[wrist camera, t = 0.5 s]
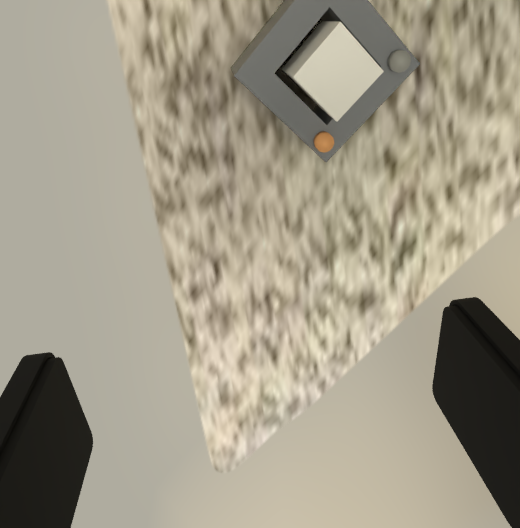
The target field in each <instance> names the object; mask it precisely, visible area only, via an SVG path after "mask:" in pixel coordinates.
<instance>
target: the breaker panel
mask: <svg viewBox="0 0 520 528" xmlns="http://www.w3.org/2000/svg"><path fill="white" fill-rule="evenodd" d="M320 18H321V19H322V20H323V21H336V22H341V23H342V24H343V25H344V26H345V27H346V29H347V30H348V31H349V32H350V33H351V34H352V35H353V37H354V38H355V39H356V40H357V41H358V42H359V43H360V45H361V46H362V47H363V48H364V49H365V50H366V51H367V53H368V54H369V55H370V56H371V57H372V58H373V59H374V61H375V62H376V63H377V64H378V65H379V66H380V67H381V69H382V70H383V71H384V72H383V73H382V74H381V75H380V76H379V77H378V78H377V79H376V80H375V81H374V83H373V84H372V85H371V86H370V87H369V88H368V89H367V90H366V91H365V92H364V93H363V94H362V96H361V97H360V98H359V99H358V100H357V101H356V102H355V103H354V104H353V105H352V106H351V107H350V108H349V110H348V111H347V112H346V113H345V114H344V115H343V116H342V117H341V118H340V119H339V120H338V121H337V122H336V121H335V120H334V119H333V118H332V117H330V116H329V115H328V114H327V113H326V112H324V111H323V110H322V109H321V108H320V107H319V106H318V105H316V107H315V108H314V109H313V110H311V109H310V108H309V107H308V106H307V105H306V104H305V103H304V102H303V101H302V100H301V99H300V98H299V97H298V96H297V95H296V94H295V93H294V92H293V91H292V90H291V89H290V88H289V87H288V86H287V85H286V84H285V83H284V82H283V81H282V80H281V79H280V78H279V77H278V76H277V75H276V74H275V72H276V71H277V70H278V68H279V67H280V66H281V65H282V64H283V62H284V61H285V60H286V59H287V58H288V56H289V55H290V54H291V53H292V52H293V50H294V49H295V48H296V47H297V46H298V44H299V43H300V42H301V41H302V40H303V38H304V37H305V36H306V35H307V34H308V32H309V31H310V30H311V29H312V28H313V26H314V25H315V24H316V23H317V22H318V20H319V19H320ZM419 64H420V63H419V62H418V61H417V59H416V58H415V57H414V56H413V55H412V53H411V52H410V51H409V50H408V48H407V47H406V46H405V45H404V44H403V42H402V41H401V40H400V39H399V38H398V36H397V35H396V34H395V33H394V31H393V30H392V29H391V28H390V27H389V25H388V24H387V23H386V22H385V20H384V19H383V18H382V17H381V16H380V14H379V13H378V12H377V11H376V10H375V8H374V7H373V6H372V5H371V3H370V2H369V1H368V0H284V2H283V3H282V4H281V5H280V7H279V8H278V9H277V10H276V12H275V13H274V14H273V15H272V17H271V18H270V19H269V21H268V22H267V23H266V24H265V26H264V27H263V28H262V29H261V31H260V32H259V33H258V34H257V36H256V37H255V38H254V39H253V41H252V42H251V43H250V44H249V46H248V47H247V48H246V49H245V51H244V52H243V53H242V54H241V56H240V57H239V58H238V60H237V61H236V62H235V63H234V65H233V66H232V67H231V69H232V72H233V74H234V76H235V77H236V78H237V79H238V80H239V81H240V82H241V83H242V84H243V85H244V86H245V87H246V88H247V89H248V90H250V91H251V92H252V93H253V94H254V95H255V96H256V97H257V98H258V99H259V100H260V101H261V102H262V103H263V104H264V105H265V106H267V107H268V108H269V109H270V110H271V111H272V112H273V113H274V114H275V115H276V116H277V117H278V118H279V119H280V120H281V121H282V122H284V123H285V124H286V125H287V126H288V127H289V128H290V129H291V130H292V131H293V132H294V133H295V134H296V135H297V136H298V137H299V138H300V139H302V140H303V141H304V142H305V143H306V144H307V145H308V146H309V147H310V148H311V149H312V150H313V151H314V152H315V153H316V154H317V155H319V156H320V157H321V158H322V159H323V160H324V161H325V162H327V161H328V160H329V159H330V158H331V157H332V156H333V155H334V154H335V153H336V152H337V151H338V149H339V148H340V147H341V146H342V145H343V144H344V143H345V142H346V141H347V140H348V139H349V138H350V137H351V136H352V135H353V134H354V133H355V132H356V131H357V130H358V128H359V127H360V126H361V125H362V124H363V123H364V122H365V121H366V120H367V119H368V118H369V117H370V116H371V115H372V114H373V113H374V112H375V111H376V110H377V109H378V107H379V106H380V105H381V104H382V103H383V102H384V101H385V100H386V99H387V98H388V97H389V96H390V95H391V94H392V93H393V92H394V91H395V90H396V89H397V88H398V86H399V85H400V84H401V83H402V82H403V81H404V80H405V79H406V78H407V77H408V76H409V75H410V74H411V73H412V72H413V71H414V70H415V69H416V68H417V67H418V65H419Z"/></svg>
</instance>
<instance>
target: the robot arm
mask: <svg viewBox="0 0 520 528" xmlns="http://www.w3.org/2000/svg"><path fill="white" fill-rule="evenodd" d="M433 395H434V398H435V400H436V402H437V404H438V405H439V407H440V409H441V410H442V412H443V414H444V415H445V417H446V419H447V421H448V422H449V424H450V426H451V427H452V429H453V431H454V432H455V434H456V436H457V437H458V439H459V441H460V442H461V444H462V445H463V447H464V449H465V451H466V452H467V454H468V456H469V457H470V459H471V461H472V463H473V464H474V466H475V468H476V469H477V471H478V473H479V474H480V476H481V478H482V479H483V481H484V483H485V484H486V486H487V488H488V489H489V491H490V493H491V494H492V496H493V498H494V500H495V501H496V503H497V504H498V506H499V508H500V510H501V511H502V513H503V515H504V516H505V518H506V520H507V521H508V523H509V524H510V526H511V527H512V528H520V340H519V339H518V338H517V337H516V336H515V335H514V334H513V333H512V332H511V331H510V330H509V329H508V328H507V327H506V326H505V325H504V324H503V323H502V322H501V320H500V319H499V318H498V317H497V316H496V315H495V314H494V313H493V312H492V311H491V310H490V309H489V308H488V307H487V306H486V305H485V304H484V303H483V302H482V301H481V300H480V299H479V298H476V297H473V298H465V299H458V300H453V301H451V303H450V305H449V307H445V308H444V311H443V316H442V323H441V330H440V337H439V345H438V352H437V358H436V365H435V373H434V379H433ZM92 445H93V437H92V433H91V430H90V428H89V425H88V423H87V420H86V418H85V415H84V413H83V410H82V408H81V405H80V402H79V400H78V398H77V395H76V392H75V390H74V387H73V385H72V382H71V380H70V377H69V375H68V372H67V370H66V367H65V365H64V362H63V360H62V359H61V358H59V357H58V358H55V356H54V355H53V354H52V353H42V354H33V355H26V356H24V357H23V358H22V359H21V361H20V363H19V365H18V366H17V368H16V370H15V372H14V374H13V375H12V377H11V379H10V381H9V383H8V384H7V386H6V388H5V390H4V391H3V393H2V395H1V397H0V528H71V524H72V520H73V517H74V513H75V509H76V506H77V502H78V499H79V495H80V491H81V488H82V484H83V480H84V477H85V473H86V470H87V466H88V462H89V458H90V455H91V451H92V447H93V446H92Z"/></svg>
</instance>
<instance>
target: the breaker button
mask: <svg viewBox="0 0 520 528" xmlns="http://www.w3.org/2000/svg"><path fill="white" fill-rule="evenodd" d="M282 70H283V71H284V72H285V73H286V74H287V75H288V76H289V77H290V78H291V79H292V80H293V81H294V82H295V83H296V84H297V85H298V86H299V87H300V88H301V89H302V90H303V91H304V92H305V93H306V94H307V95H308V96H309V97H310V98H311V99H312V100H313V101H314V102H315V103H316V104H317V105H318V106H319V107H320V108H321V109H322V110H323V111H324V112H326V113H327V114H328V115H329V116H330V117H332V118H333V119H334V120H335V121H336V122H337V121H338V120H339V119H340V118H341V117H342V116H343V115H344V114H345V113H346V112H347V111H348V110H349V108H350V107H351V106H352V105H353V104H354V103H355V102H356V101H357V100H358V99H359V98H360V97H361V96H362V94H363V93H364V92H365V91H366V90H367V89H368V88H369V87H370V86H371V85H372V84H373V83H374V81H375V80H376V79H377V78H378V77H379V76H380V75H381V74H382V73H383V72H384V71H383V70H382V69H381V67H380V66H379V65H378V64H377V63H376V62H375V61H374V59H373V58H372V57H371V56H370V55H369V54H368V53H367V51H366V50H365V49H364V48H363V47H362V46H361V45H360V43H359V42H358V41H357V40H356V39H355V38H354V37H353V35H352V34H351V33H350V32H349V31H348V30H347V29H346V27H345V26H344V25H343V24H342V23H341V22H336V21H322V22H321V23H320V24H319V25H318V26H317V28H316V29H315V30H314V31H313V32H312V33H311V35H310V36H309V37H308V38H307V39H306V41H305V42H304V43H303V44H302V45H301V47H300V48H299V49H298V50H297V51H296V53H295V54H294V55H293V56H292V57H291V59H290V60H289V61H288V62H287V63H286V64H285V66H284V67H283V68H282Z"/></svg>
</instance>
